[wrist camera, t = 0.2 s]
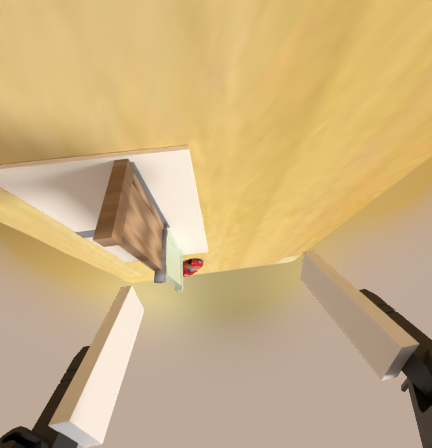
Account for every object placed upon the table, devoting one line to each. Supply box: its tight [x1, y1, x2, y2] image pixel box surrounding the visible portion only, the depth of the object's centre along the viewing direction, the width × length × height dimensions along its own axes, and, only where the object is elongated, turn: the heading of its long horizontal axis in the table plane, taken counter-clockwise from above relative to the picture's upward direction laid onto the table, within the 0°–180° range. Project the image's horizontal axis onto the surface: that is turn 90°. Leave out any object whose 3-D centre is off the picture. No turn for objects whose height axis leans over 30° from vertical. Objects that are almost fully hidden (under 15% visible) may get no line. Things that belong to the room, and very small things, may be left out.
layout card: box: [0, 145, 208, 262], centre depth 34 cm, size 34×24×1 cm
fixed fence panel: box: [93, 159, 167, 283], centre depth 24 cm, size 16×2×11 cm, turn 2°
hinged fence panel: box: [166, 229, 183, 292], centre depth 37 cm, size 14×2×10 cm, turn 2°
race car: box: [183, 259, 203, 277], centre depth 58 cm, size 13×5×4 cm, turn 133°
